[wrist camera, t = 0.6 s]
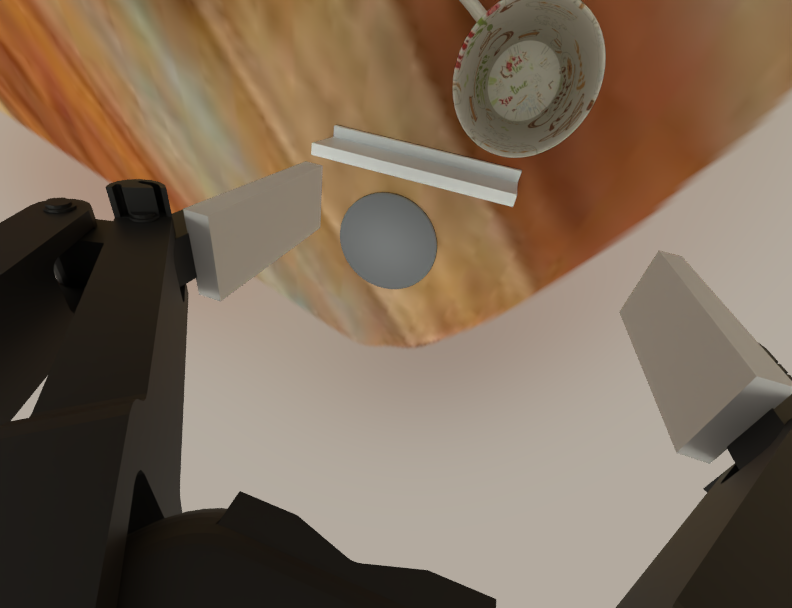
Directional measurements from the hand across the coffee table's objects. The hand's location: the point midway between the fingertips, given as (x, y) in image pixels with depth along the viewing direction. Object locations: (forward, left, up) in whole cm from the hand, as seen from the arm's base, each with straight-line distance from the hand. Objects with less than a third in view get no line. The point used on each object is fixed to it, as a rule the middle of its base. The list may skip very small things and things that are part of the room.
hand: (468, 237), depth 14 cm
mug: (-7, -2, -22) cm, 23 cm away
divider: (+2, -7, -22) cm, 23 cm away
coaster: (+11, -9, -22) cm, 26 cm away
